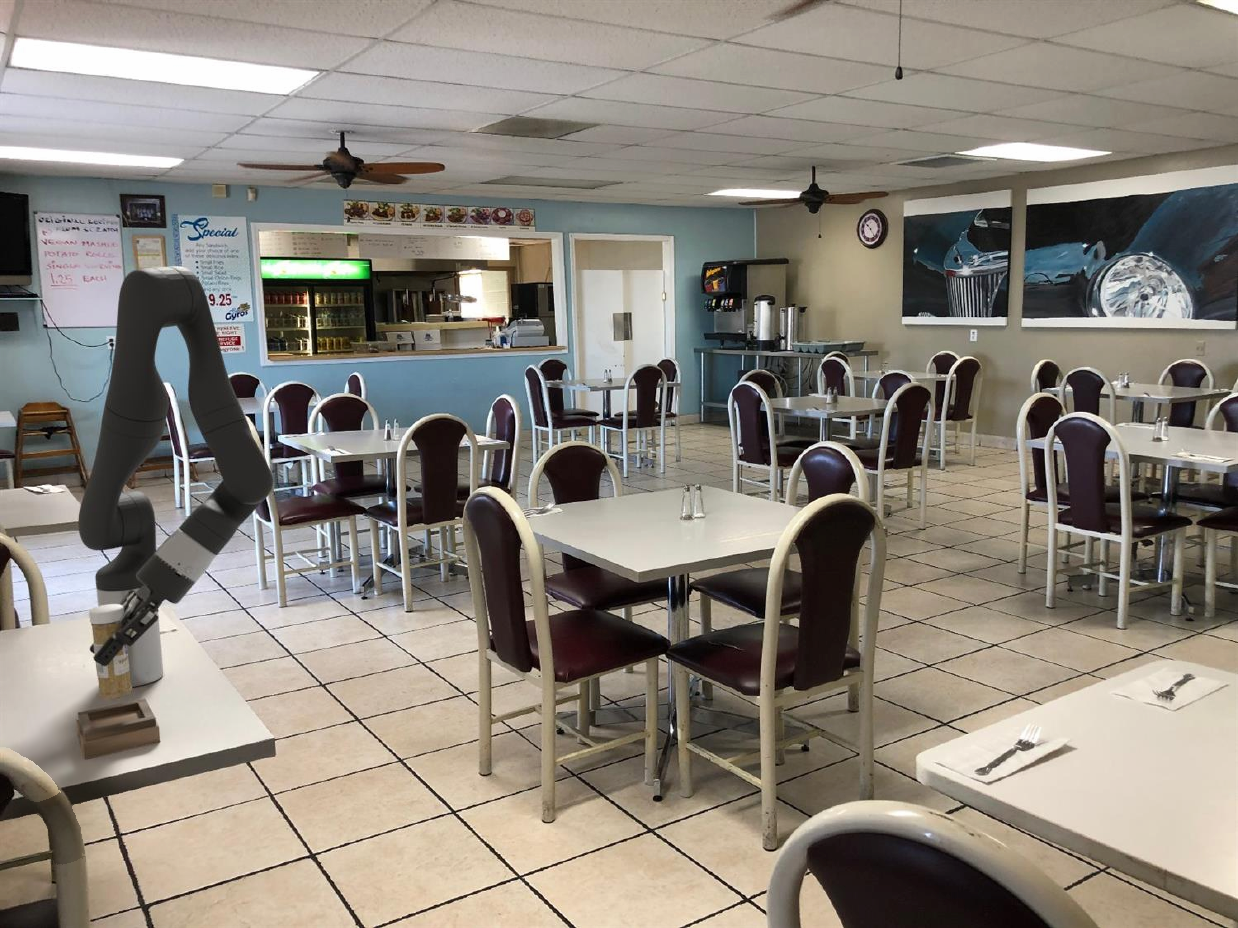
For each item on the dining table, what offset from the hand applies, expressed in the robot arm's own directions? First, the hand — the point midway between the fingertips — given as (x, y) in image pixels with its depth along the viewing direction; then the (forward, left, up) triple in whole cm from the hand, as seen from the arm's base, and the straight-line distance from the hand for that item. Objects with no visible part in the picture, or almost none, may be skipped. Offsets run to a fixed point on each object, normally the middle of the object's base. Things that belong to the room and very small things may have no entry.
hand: (97, 657), depth 145 cm
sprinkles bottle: (0, +2, -6) cm, 7 cm away
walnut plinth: (0, +2, -13) cm, 13 cm away
